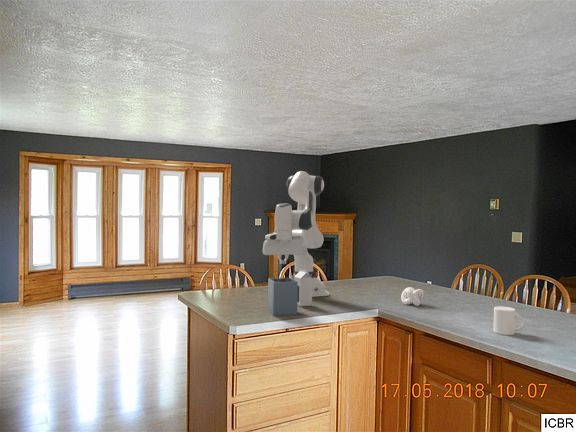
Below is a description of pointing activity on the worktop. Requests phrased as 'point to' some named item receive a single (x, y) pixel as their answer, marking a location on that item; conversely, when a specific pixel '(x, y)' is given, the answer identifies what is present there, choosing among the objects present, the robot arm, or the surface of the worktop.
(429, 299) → the worktop surface
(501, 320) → the mug
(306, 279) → the milk carton
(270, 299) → the dark grey upright box
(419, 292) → the white knot
